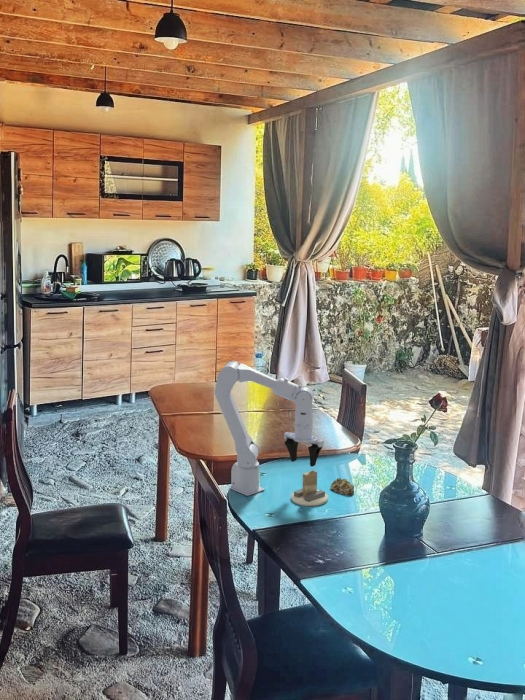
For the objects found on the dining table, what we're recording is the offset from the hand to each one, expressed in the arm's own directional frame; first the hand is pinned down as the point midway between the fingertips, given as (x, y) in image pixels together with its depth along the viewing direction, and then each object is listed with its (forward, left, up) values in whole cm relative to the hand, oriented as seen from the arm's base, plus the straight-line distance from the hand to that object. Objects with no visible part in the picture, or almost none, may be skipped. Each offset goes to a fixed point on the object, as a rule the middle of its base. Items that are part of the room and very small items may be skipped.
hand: (303, 463), depth 242 cm
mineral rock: (+7, +12, -11) cm, 18 cm away
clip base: (+5, -2, -10) cm, 12 cm away
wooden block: (+5, -2, -9) cm, 11 cm away
